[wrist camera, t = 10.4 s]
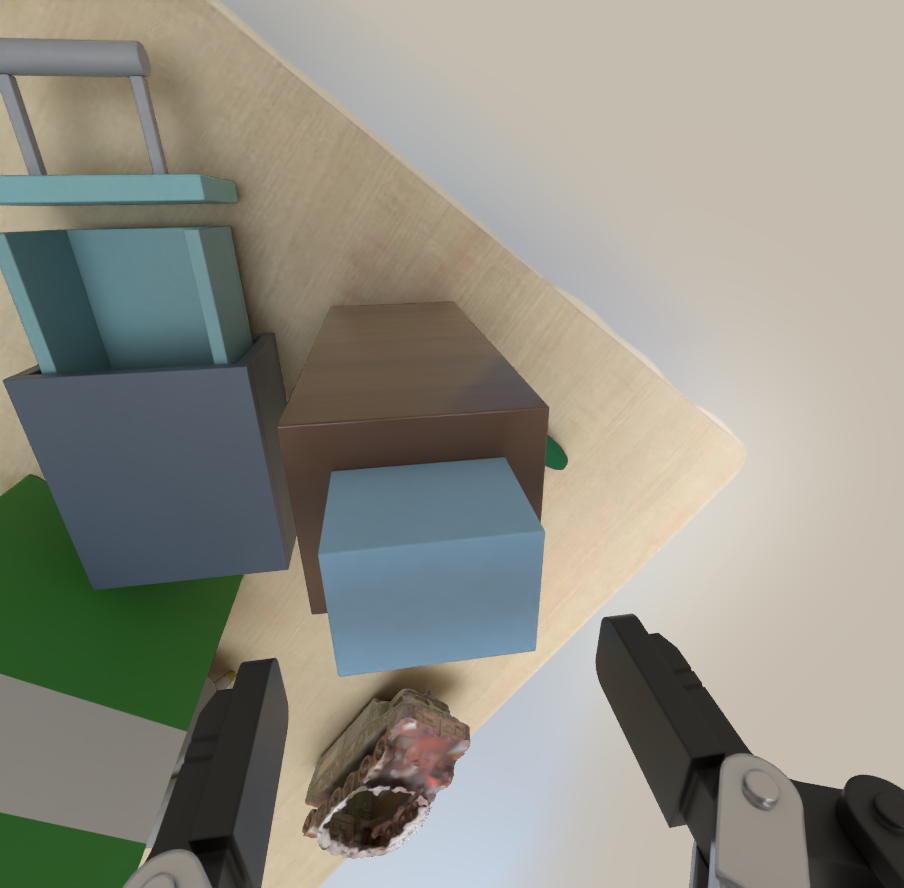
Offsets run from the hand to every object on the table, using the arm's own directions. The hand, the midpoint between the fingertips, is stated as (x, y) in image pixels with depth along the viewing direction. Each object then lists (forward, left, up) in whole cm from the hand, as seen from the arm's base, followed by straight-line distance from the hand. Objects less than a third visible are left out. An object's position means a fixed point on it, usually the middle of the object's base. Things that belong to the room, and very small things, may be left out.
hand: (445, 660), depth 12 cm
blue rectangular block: (0, 0, -6) cm, 6 cm away
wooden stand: (0, 0, -28) cm, 28 cm away
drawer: (-8, -15, -27) cm, 32 cm away
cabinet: (+5, -15, -28) cm, 32 cm away
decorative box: (+40, -5, -28) cm, 50 cm away
